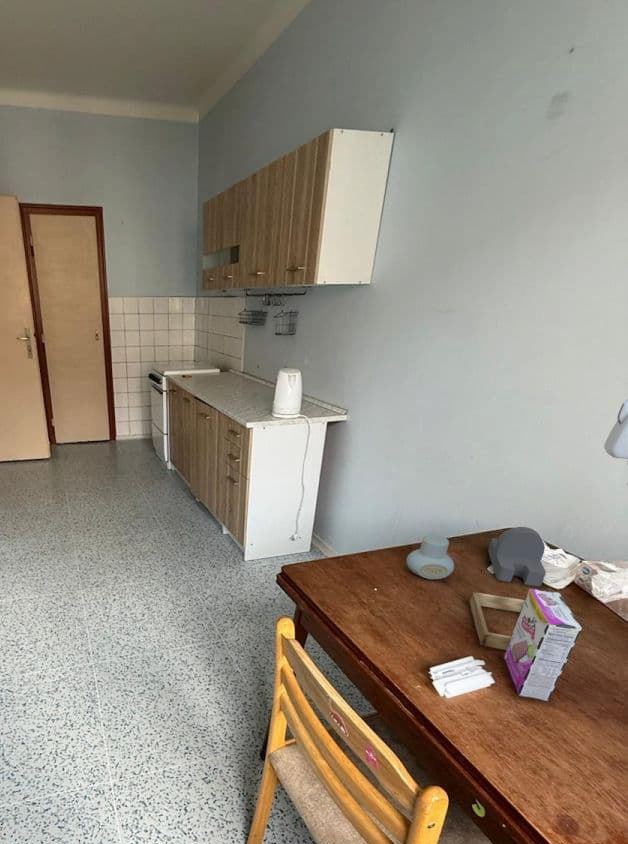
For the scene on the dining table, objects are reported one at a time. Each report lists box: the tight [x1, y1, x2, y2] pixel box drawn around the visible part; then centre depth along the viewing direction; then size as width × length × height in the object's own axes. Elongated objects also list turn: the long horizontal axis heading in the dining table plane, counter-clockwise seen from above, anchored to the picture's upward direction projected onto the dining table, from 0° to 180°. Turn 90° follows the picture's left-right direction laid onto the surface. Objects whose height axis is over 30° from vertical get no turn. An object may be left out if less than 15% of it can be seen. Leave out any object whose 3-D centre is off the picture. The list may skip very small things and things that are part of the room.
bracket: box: [487, 526, 547, 587], centre depth 122 cm, size 10×18×11 cm, turn 156°
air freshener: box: [406, 534, 455, 581], centre depth 120 cm, size 11×8×10 cm
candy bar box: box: [503, 588, 583, 702], centre depth 84 cm, size 11×5×16 cm, turn 161°
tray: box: [468, 591, 525, 651], centre depth 101 cm, size 12×17×3 cm
